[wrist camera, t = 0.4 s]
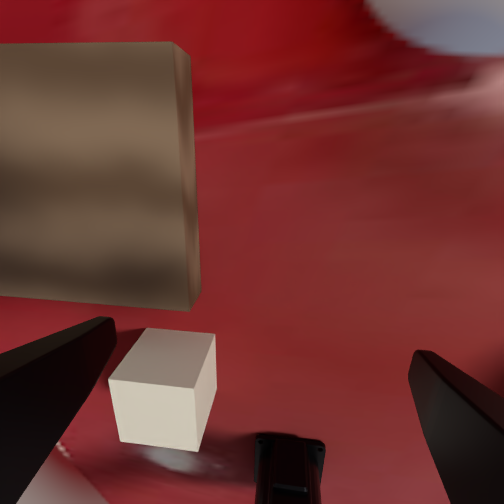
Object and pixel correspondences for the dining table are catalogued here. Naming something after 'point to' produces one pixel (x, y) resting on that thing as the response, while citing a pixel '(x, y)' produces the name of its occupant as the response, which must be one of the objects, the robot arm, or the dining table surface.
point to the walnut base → (98, 174)
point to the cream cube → (165, 389)
